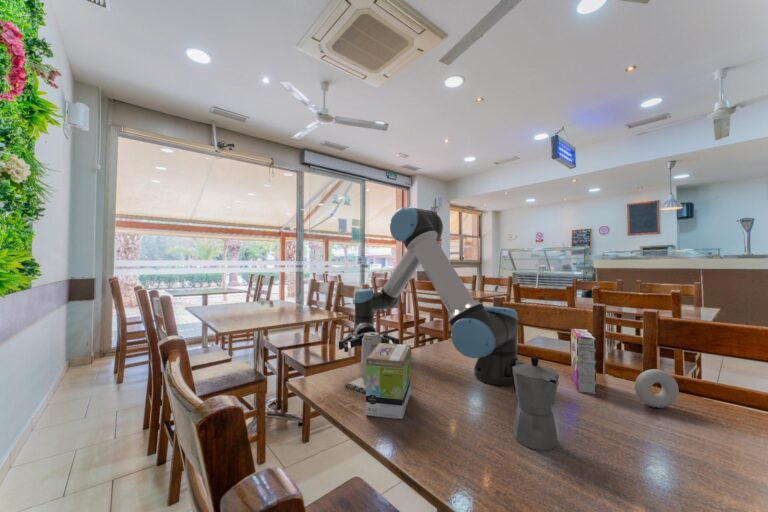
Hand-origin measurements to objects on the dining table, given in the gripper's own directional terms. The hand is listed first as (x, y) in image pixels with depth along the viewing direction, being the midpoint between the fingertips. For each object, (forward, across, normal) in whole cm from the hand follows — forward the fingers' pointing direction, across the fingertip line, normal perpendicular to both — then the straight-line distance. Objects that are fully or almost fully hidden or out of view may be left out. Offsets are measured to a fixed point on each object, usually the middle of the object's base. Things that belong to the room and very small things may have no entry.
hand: (371, 351), depth 100 cm
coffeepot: (+33, -32, -11) cm, 47 cm away
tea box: (+13, -4, -11) cm, 17 cm away
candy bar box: (+10, -64, -11) cm, 65 cm away
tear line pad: (-1, +1, -11) cm, 11 cm away
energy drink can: (-2, 0, -10) cm, 10 cm away
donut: (+25, -73, -11) cm, 78 cm away
